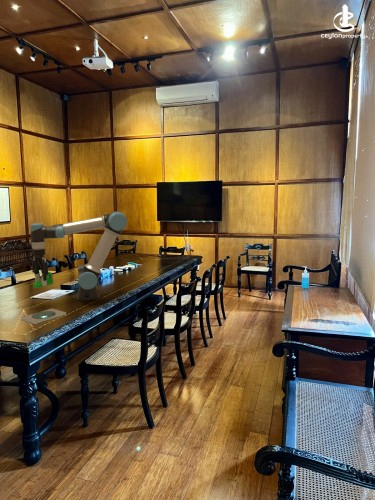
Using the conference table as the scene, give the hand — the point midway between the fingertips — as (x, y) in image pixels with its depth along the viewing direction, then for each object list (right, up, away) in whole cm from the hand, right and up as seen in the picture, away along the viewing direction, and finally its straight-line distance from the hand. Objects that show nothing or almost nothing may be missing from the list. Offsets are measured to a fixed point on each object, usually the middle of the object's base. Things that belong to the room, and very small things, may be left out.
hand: (41, 284), depth 219 cm
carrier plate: (+8, -17, -15) cm, 24 cm away
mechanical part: (0, -1, +1) cm, 1 cm away
